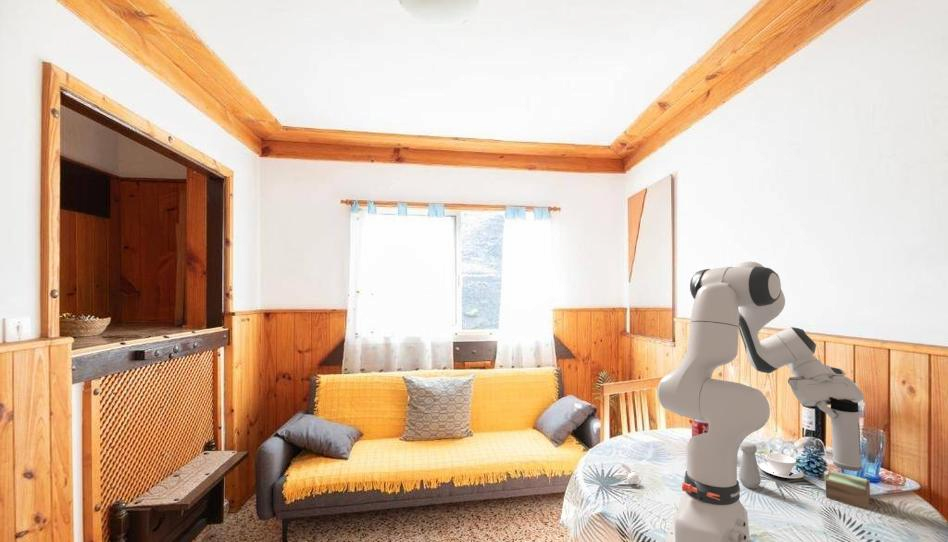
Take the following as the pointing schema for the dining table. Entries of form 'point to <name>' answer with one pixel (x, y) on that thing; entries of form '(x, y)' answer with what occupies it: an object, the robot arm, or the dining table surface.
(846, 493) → the stand
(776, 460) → the teacup
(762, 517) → the dining table surface
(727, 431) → the robot arm
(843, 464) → the travel mug
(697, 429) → the soda can
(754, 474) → the salt shaker
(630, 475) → the rabbit figurine
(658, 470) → the dining table surface
